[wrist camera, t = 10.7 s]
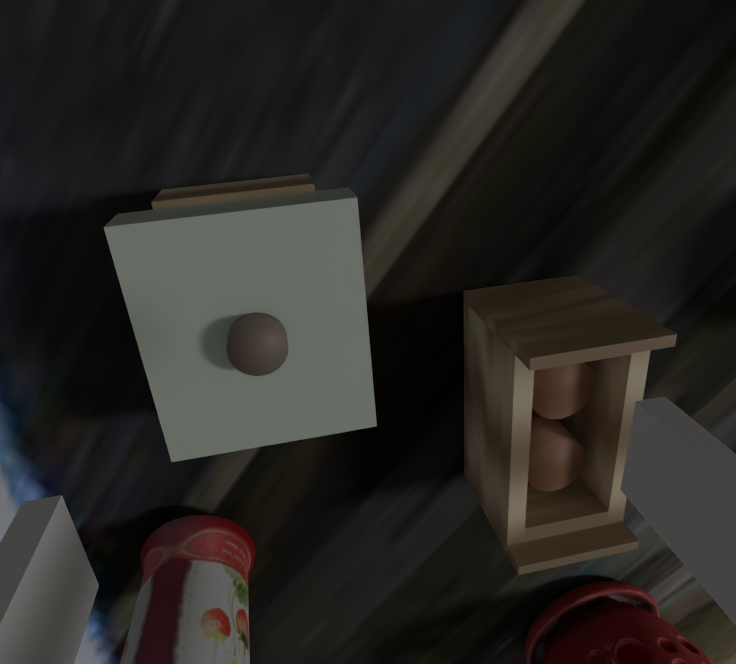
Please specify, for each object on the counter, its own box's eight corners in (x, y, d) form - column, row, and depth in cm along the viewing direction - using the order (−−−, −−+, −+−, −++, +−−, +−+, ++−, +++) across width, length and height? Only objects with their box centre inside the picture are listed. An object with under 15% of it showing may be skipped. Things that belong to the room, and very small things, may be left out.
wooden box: (463, 290, 31) (530, 358, 24) (577, 274, 32) (677, 334, 25) (464, 473, 37) (518, 575, 29) (560, 454, 38) (637, 549, 30)
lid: (117, 213, 23) (96, 233, 20) (348, 187, 25) (361, 202, 22) (178, 433, 28) (168, 475, 25) (368, 401, 30) (380, 437, 26)
